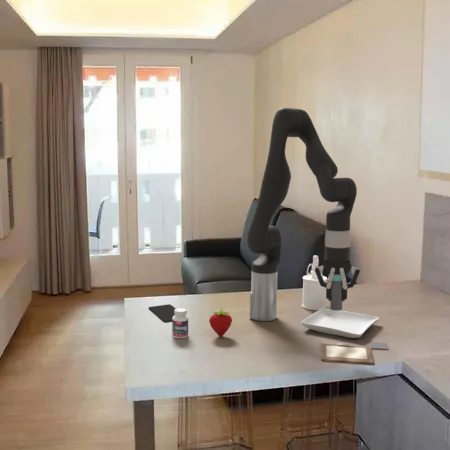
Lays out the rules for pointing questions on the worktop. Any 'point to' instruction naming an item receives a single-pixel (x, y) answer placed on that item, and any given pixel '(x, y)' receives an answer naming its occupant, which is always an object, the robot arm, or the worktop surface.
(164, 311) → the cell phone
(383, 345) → the coaster
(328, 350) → the clipboard
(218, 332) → the strawberry
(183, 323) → the pill bottle
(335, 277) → the marker
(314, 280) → the white nozzle bottle
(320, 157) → the robot arm
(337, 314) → the salad plate
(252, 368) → the worktop surface
